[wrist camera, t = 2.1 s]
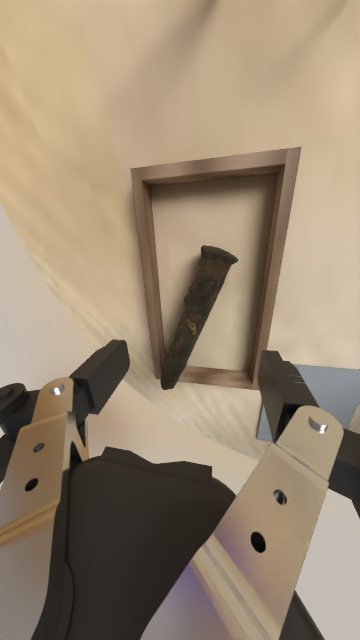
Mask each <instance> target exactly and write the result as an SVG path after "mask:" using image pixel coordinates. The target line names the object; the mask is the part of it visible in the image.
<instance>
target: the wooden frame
mask: <svg viewBox="0 0 360 640" xmlns="http://www.w3.org/2000/svg"><path fill="white" fill-rule="evenodd" d="M300 153H301V147H295V148H288V149H280V150H272V151H264V152H257V153H249V154H241V155H233V156H225V157H218V158H210V159H202V160H194V161H187V162H179V163H171V164H163V165H156V166H148V167H140V168H132V169H131V177H132V186H133V194H134V202H135V211H136V219H137V227H138V235H139V244H140V252H141V260H142V269H143V277H144V285H145V293H146V302H147V310H148V318H149V327H150V335H151V343H152V351H153V360H154V368H155V376H156V379H161V375H162V370H163V366H164V363H165V360H166V359H165V348H164V336H163V325H162V314H161V303H160V291H159V280H158V269H157V258H156V246H155V235H154V224H153V213H152V202H151V190H150V186H156V185H166V184H175V183H184V182H194V181H203V180H213V179H222V178H231V177H241V176H250V175H260V174H269V173H278V175H277V182H276V190H275V197H274V204H273V211H272V219H271V226H270V233H269V240H268V248H267V255H266V262H265V269H264V277H263V284H262V291H261V298H260V306H259V313H258V320H257V327H256V335H255V342H254V349H253V357H252V364H251V371H250V372H245V371H234V370H224V369H213V368H203V367H192V366H186V367H185V369H184V370H183V372H182V373H181V375H180V377H179V380H178V381H180V382H189V383H198V384H207V385H216V386H225V387H234V388H242V389H251V390H260V389H259V385H258V369H259V363H260V357H261V352H262V350H267V345H268V339H269V333H270V327H271V322H272V316H273V310H274V304H275V298H276V292H277V287H278V281H279V275H280V269H281V263H282V257H283V252H284V246H285V240H286V234H287V228H288V223H289V217H290V211H291V205H292V199H293V193H294V188H295V182H296V176H297V170H298V164H299V158H300Z"/></svg>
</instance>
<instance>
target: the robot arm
mask: <svg viewBox="0 0 360 640" xmlns="http://www.w3.org/2000/svg"><path fill="white" fill-rule="evenodd" d="M129 366H130V359H129V354H128V348H127V343H126V341H125V340H111V341H110V342H109V343H108V344H107V345H106V346H105V347H103V348H101V349H99V350H97V351H96V352H95V353H94V354H92V355H91V356H90V358H88V359H87V360H86V362H84V363H83V364H82V365H81V366H80V367H79V368H78V369H77V370H75V371H74V372H73V373H72V374H71V375H70V376H69V377H64V378H59V379H56V380H53V381H51V382H49V383H48V384H46V385H45V386H44V387H43V388H42V389H41V390H34V391H27V390H26V388H25V386H24V385H23V384H21V383H14V384H10V385H7V386H5V387H2V388H0V427H1V428H2V430H3V432H4V433H5V434H4V435H3V436H2V437H1V438H0V483H1V482H2V481H3V480H4V481H3V484H2V487H1V490H0V640H325V639H324V638H323V636H322V634H321V633H320V631H319V629H318V628H317V626H316V625H315V623H314V621H313V619H312V618H311V616H310V614H309V613H308V611H307V610H306V608H305V606H304V604H303V603H302V601H301V599H300V598H299V596H298V594H297V593H296V591H295V587H296V584H297V581H298V578H299V575H300V572H301V569H302V566H303V562H304V560H305V557H306V553H307V550H308V547H309V544H310V541H311V538H312V535H313V532H314V529H315V526H316V523H317V520H318V516H319V514H320V511H321V508H322V504H323V501H324V498H325V495H326V492H327V489H328V488H329V489H331V490H333V491H335V492H337V493H339V494H341V495H343V496H345V497H347V498H349V499H351V500H352V502H353V505H354V507H355V509H356V511H357V513H358V516H359V518H360V434H357V433H355V432H352V431H349V430H347V429H344V428H342V426H341V424H340V423H339V421H338V420H337V419H336V418H335V417H334V416H332V415H331V414H330V413H328V412H326V411H325V410H323V409H320V407H319V405H318V404H317V402H316V400H315V398H314V397H313V395H312V393H311V392H310V390H309V388H308V386H307V385H306V384H305V381H304V379H303V378H302V377H301V374H300V373H299V371H298V369H297V368H296V367H295V366H294V365H293V364H291V363H290V362H289V361H283V360H282V358H281V356H280V354H279V352H278V351H269V350H262V352H261V357H260V363H259V369H258V385H259V389H260V393H261V397H262V401H263V404H264V408H265V412H266V416H267V420H268V424H269V428H270V432H271V436H272V439H273V443H272V444H271V445H270V446H269V448H268V449H267V451H266V452H265V454H264V455H263V457H262V458H261V460H260V461H259V463H258V464H257V466H256V467H255V469H254V470H253V472H252V474H251V475H250V477H249V478H248V480H247V481H246V483H245V484H244V486H243V487H242V489H241V490H240V492H239V493H238V495H237V496H236V495H235V494H234V493H233V491H232V490H231V489H229V488H228V487H227V486H226V485H225V484H223V483H222V482H220V481H219V480H218V479H216V478H214V477H212V466H207V465H202V464H196V463H191V462H186V461H180V462H171V463H160V464H153V463H151V462H149V461H147V460H145V459H144V458H142V457H140V456H138V455H136V454H135V453H133V452H131V451H128V450H122V449H117V448H111V447H106V448H105V450H104V451H103V453H102V455H101V456H97V457H93V458H90V459H89V452H88V428H87V419H86V417H87V416H88V414H89V413H90V414H97V415H98V414H99V413H100V411H101V410H102V408H103V407H104V405H105V404H106V402H107V401H108V399H109V398H110V396H111V395H112V393H113V392H114V390H115V389H116V388H117V386H118V385H119V383H120V382H121V380H122V379H123V377H124V376H125V374H126V373H127V371H128V369H129Z"/></svg>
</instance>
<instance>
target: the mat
mask: <svg viewBox="0 0 360 640" xmlns="http://www.w3.org/2000/svg"><path fill="white" fill-rule="evenodd" d="M293 365H294V366H295V367H296V368H297V369H298V371H299V373H300V374H301V377H302V378H303V379H304V381H305V384H306V385H307V386H308V388H309V390H310V392H311V393H312V395H313V397H314V398H315V400H316V402H317V404H318V405H319V407H320V409H323V410H325V411H326V412H328V413H330V414H331V415H332V416H334V417H335V418H336V419H337V420H338V421H339V423H340V424H341V426H342V428H344V429H347V428H348V426H349V423H350V421H351V419H352V417H353V415H354V413H355V411H356V409H357V406H358V404H359V402H360V370H355V369H343V368H331V367H319V366H307V365H295V364H293ZM257 439H258V440H264V441H271V442H273V439H272V436H271V432H270V428H269V424H268V420H267V416H266V412H265V408H264V404H263V405H262V411H261V416H260V421H259V427H258V432H257Z"/></svg>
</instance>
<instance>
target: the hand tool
mask: <svg viewBox="0 0 360 640" xmlns="http://www.w3.org/2000/svg"><path fill="white" fill-rule="evenodd" d="M201 254H202V257H201V261H200V264H199V265H200V268H199V270H198V272H197V275H196V277H195V279H194V281H193V283H192V286H191V287H190V289H189V293H188V294H187V295H186V297H185V309H184V312H183V314H182V317H181V320H180V322H179V325H178V328H177V331H176V334H175V337H174V340H173V342H172V344H171V347H170V351H169V353H168V355H167V358H166V360H165V363H164V366H163V370H162V375H161V387H162V389H164V390H167V389H173V388H174V386H175V385H176V383H177V381H178V380H179V377H180V375H181V373H182V372H183V370H184V369H185V367H186V364H187V361H188V358H189V357H190V354H191V352H192V350H193V348H194V346H195V343H196V341H197V339H198V337H199V335H200V333H201V331H202V329H203V327H204V324H205V322H206V320H207V318H208V316H209V313H210V311H211V309H212V307H213V305H214V303H215V301H216V298H217V296H218V294H219V292H220V290H221V288H222V286H223V284H224V281H225V278H226V275H227V273H228V271H229V268H230V267H231V265H232V264H234V263H236V262H238V259H237V258H236V257H235V256H233V255H232V254H230V253H229V252H227V251H224V250H222V249H220V248H216V247H212V246H202V247H201Z"/></svg>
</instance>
